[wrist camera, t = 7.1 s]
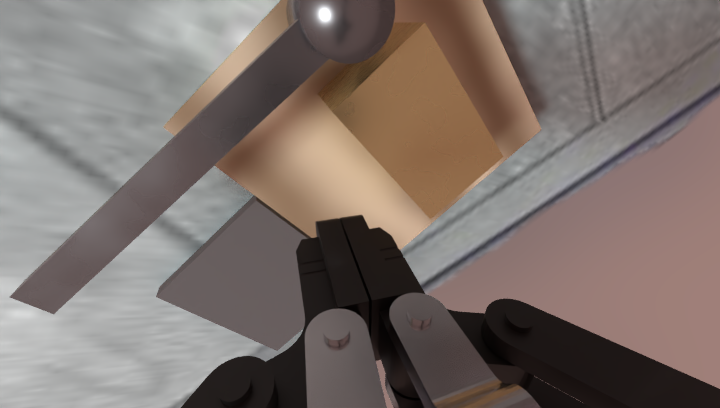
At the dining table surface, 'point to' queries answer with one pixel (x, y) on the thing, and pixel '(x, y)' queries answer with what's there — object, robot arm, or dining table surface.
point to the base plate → (339, 146)
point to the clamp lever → (212, 137)
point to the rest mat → (245, 277)
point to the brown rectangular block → (414, 117)
